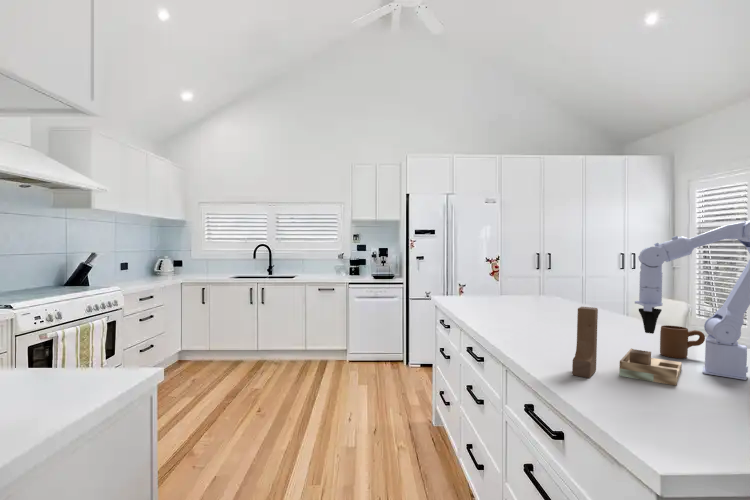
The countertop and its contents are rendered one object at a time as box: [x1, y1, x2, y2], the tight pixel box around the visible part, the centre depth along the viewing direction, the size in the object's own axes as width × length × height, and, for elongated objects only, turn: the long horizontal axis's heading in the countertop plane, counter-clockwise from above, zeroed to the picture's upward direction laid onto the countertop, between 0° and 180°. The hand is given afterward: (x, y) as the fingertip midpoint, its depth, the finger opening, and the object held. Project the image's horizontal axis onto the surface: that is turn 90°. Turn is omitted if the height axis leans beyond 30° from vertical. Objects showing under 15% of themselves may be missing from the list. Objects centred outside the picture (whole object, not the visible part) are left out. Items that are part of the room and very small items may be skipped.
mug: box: [659, 324, 706, 359], centre depth 146 cm, size 12×8×9 cm, turn 57°
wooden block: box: [571, 306, 599, 379], centre depth 124 cm, size 9×4×18 cm, turn 144°
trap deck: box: [618, 348, 683, 387], centre depth 127 cm, size 13×20×4 cm, turn 142°
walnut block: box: [629, 348, 652, 366], centre depth 123 cm, size 4×4×4 cm
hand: (649, 332), depth 134 cm, fingers closed
